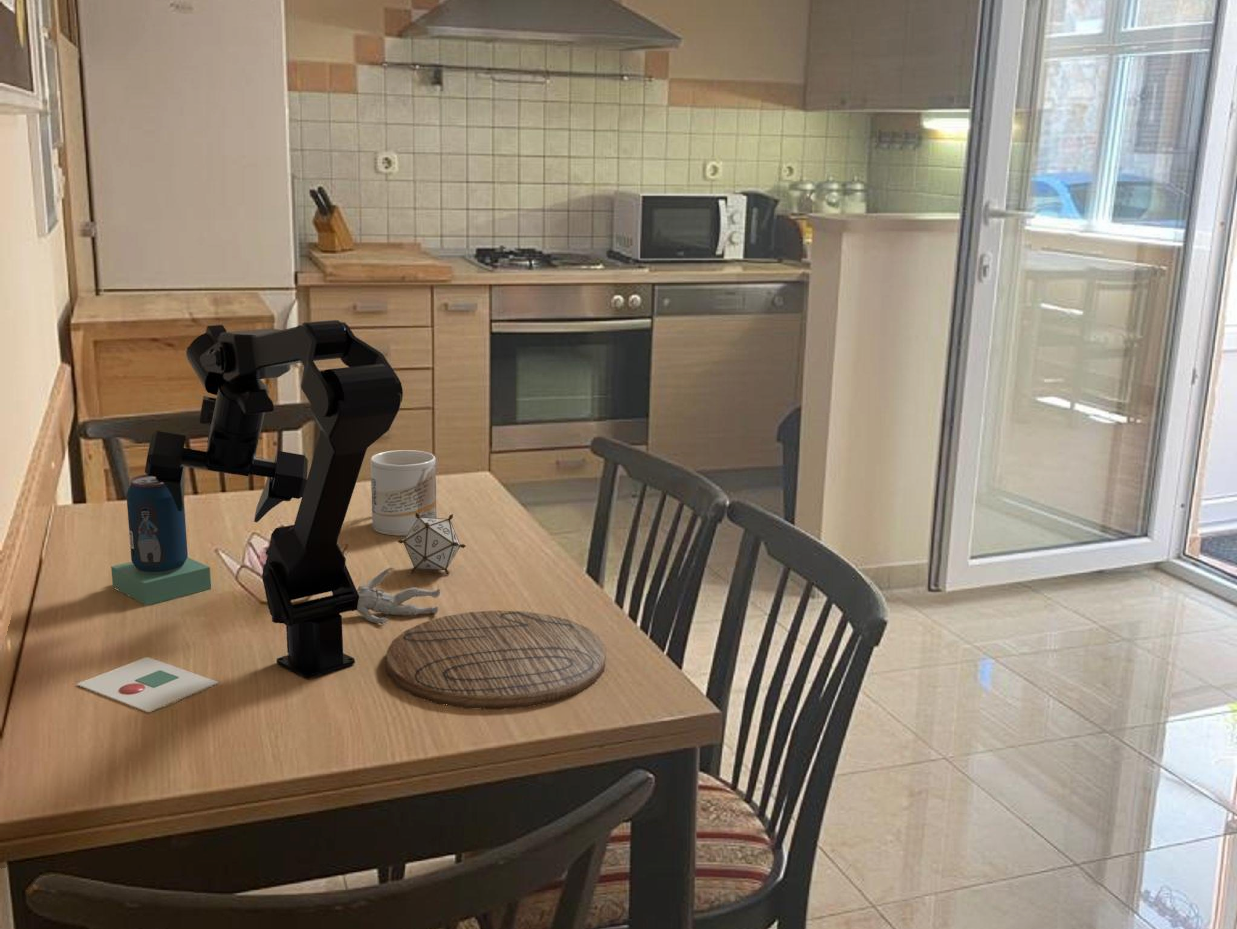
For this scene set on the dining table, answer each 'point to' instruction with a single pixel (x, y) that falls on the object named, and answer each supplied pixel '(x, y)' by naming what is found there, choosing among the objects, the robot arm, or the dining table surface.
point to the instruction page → (147, 684)
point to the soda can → (155, 527)
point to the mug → (402, 490)
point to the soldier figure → (390, 600)
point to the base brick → (161, 582)
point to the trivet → (496, 659)
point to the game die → (432, 543)
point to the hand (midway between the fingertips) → (218, 514)
